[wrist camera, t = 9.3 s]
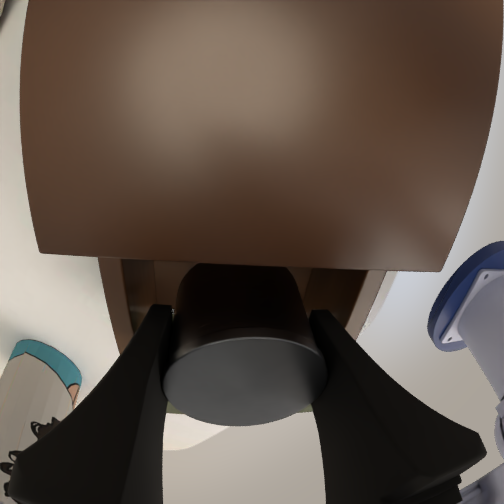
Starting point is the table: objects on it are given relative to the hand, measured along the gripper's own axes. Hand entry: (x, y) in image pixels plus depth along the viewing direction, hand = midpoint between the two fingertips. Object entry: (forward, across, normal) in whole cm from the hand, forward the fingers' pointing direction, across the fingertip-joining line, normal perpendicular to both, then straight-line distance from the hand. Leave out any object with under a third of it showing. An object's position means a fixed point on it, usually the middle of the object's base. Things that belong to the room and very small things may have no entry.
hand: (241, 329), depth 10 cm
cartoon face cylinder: (+6, +15, +13) cm, 21 cm away
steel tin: (+1, 0, 0) cm, 1 cm away
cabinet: (+6, 0, -11) cm, 13 cm away
